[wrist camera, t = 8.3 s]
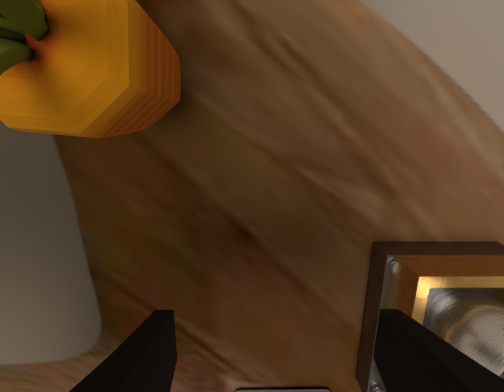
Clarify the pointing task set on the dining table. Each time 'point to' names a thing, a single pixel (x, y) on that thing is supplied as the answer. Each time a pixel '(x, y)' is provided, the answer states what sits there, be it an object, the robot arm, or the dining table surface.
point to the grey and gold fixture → (421, 285)
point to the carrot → (84, 67)
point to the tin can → (468, 324)
